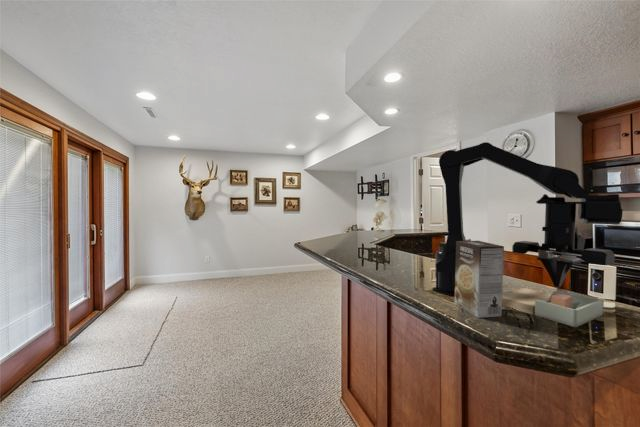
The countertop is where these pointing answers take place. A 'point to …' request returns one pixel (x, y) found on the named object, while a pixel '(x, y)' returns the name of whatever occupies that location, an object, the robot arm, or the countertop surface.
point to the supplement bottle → (440, 253)
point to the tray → (571, 311)
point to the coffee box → (479, 278)
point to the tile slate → (574, 301)
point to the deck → (524, 299)
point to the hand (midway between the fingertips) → (557, 287)
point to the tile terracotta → (562, 300)
